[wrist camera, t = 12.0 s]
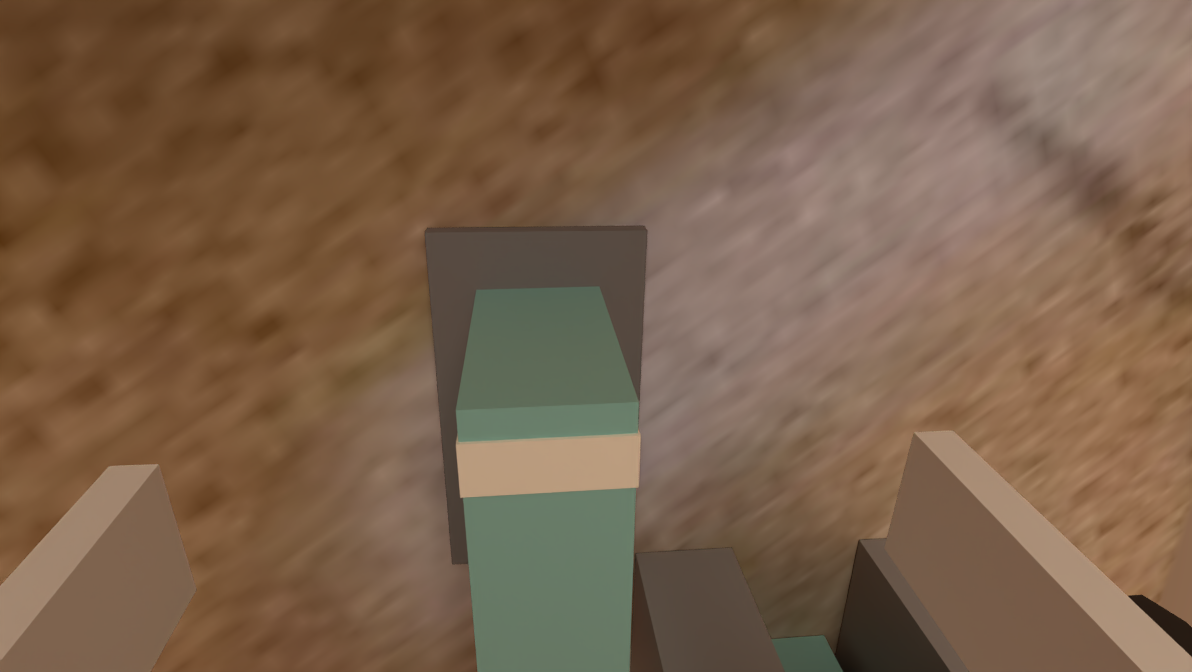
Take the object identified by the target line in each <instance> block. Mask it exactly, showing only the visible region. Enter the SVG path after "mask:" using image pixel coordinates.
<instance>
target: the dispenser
mask: <svg viewBox="0 0 1192 672" xmlns="http://www.w3.org/2000/svg"><path fill="white" fill-rule="evenodd" d="M886 540H887V538H884V539H867V540H859V544H858V548H857V553H856V558H855V563H854V568H853V573H852V578H851V583H850V587H849V592H848V597H847V602H846V607H845V612H844V617H843V621H842V626H841V631H840V636H839V641H838V646H837V651H836V655H834V654H833V652H832V650H831V648H830V646H829V644H828V642H827V640H826V638H825V636H824V635H819V636H806V637H792V638H779V639H771V638H770V636H769V633H768V631H767V629H766V626H765V624H764V622H763V619H762V617H761V615H760V612H759V610H758V608H757V605H756V603H755V601H754V598H753V596H752V594H751V591H750V589H749V587H748V584H747V582H746V580H745V577H744V575H743V573H742V570H741V568H740V566H739V563H738V561H737V559H736V556H735V554H734V552H733V549H732V548H715V549H698V550H682V551H665V552H648V553H636V559H635V579H634V600H633V621H632V641H631V662H630V672H969V670H968V669H967V667H966V666H965V664H964V663H963V662H962V660H961V659H960V657H959V656H958V654H957V653H956V651H955V650H954V649H953V647H952V646H951V644H950V643H949V641H948V640H947V638H946V637H945V636H944V634H943V633H942V631H941V630H940V628H939V627H938V625H937V624H936V622H935V621H934V620H933V618H932V617H931V615H930V614H929V612H928V611H927V609H926V608H925V607H924V605H923V604H922V602H921V601H920V599H919V598H918V596H917V595H916V594H915V592H914V591H913V589H912V588H911V586H910V585H909V583H908V582H907V580H906V579H905V578H904V576H903V575H902V573H901V572H900V570H899V569H898V567H897V566H896V565H895V563H894V562H893V560H892V559H891V557H890V556H889V554H888V553H887V552H886V550H885V549H884V548H885V544H886Z"/></svg>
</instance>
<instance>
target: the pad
mask: <svg viewBox="0 0 1192 672" xmlns="http://www.w3.org/2000/svg"><path fill="white" fill-rule="evenodd" d="M425 243H426V255H427V267H428V279H429V291H430V303H431V315H432V327H433V339H434V351H435V363H436V376H437V388H438V400H439V412H440V424H441V436H442V448H443V460H444V472H445V484H446V496H447V508H448V521H449V533H450V545H451V557H452V564H469V563H468V551H467V539H466V527H465V515H464V503H463V498H460V489H459V477H458V465H457V453H456V440H457V434H458V431H457V419H456V406H457V400H458V394H459V389H460V383H461V377H462V371H463V365H464V359H465V353H466V348H467V342H468V336H469V330H470V324H471V318H472V312H473V307H474V301H475V295H476V290H486V289H523V288H559V287H595V286H599V287H600V290H601V293H602V295H603V298H604V301H605V304H606V307H607V310H608V313H609V316H610V319H611V322H612V325H613V328H614V331H615V333H616V336H617V339H618V342H619V345H620V348H621V351H622V354H623V357H624V360H625V363H626V366H627V369H628V371H629V374H630V377H631V380H632V383H633V386H634V389H635V392H636V395H637V398H638V401H639V400H640V379H641V357H642V335H643V314H644V292H645V270H646V249H647V229H646V228H645V226H574V227H468V228H427V229H426V231H425ZM638 422H639V415H638Z"/></svg>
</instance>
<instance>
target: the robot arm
mask: <svg viewBox="0 0 1192 672" xmlns="http://www.w3.org/2000/svg"><path fill="white" fill-rule="evenodd" d="M884 549H885V550H886V552H887V553H888V554H889V556H890V557H891V559H892V560H893V562H894V563H895V565H896V566H897V567H898V569H899V570H900V572H901V573H902V575H903V576H904V578H905V579H906V580H907V582H908V583H909V585H910V586H911V588H912V589H913V591H914V592H915V594H916V595H917V596H918V598H919V599H920V601H921V602H922V604H923V605H924V607H925V608H926V609H927V611H928V612H929V614H930V615H931V617H932V618H933V620H934V621H935V622H936V624H937V625H938V627H939V628H940V630H941V631H942V633H943V634H944V636H945V637H946V638H947V640H948V641H949V643H950V644H951V646H952V647H953V649H954V650H955V651H956V653H957V654H958V656H959V657H960V659H961V660H962V662H963V663H964V664H965V666H966V667H967V669H968V670H969V672H1192V627H1191V626H1190V625H1189V624H1188V623H1186V622H1185V621H1183V620H1182V619H1180V618H1178V617H1177V616H1175V615H1174V614H1172V613H1170V612H1169V611H1167V610H1166V609H1164V608H1163V607H1161V606H1159V605H1158V604H1156V603H1154V602H1153V601H1151V600H1150V599H1148V598H1146V597H1145V596H1143V595H1132V596H1127V595H1126V594H1125V593H1124V592H1123V591H1122V590H1121V589H1120V588H1118V587H1117V586H1116V585H1115V584H1114V583H1113V582H1112V581H1111V580H1110V579H1109V578H1108V577H1107V576H1106V575H1105V574H1104V573H1103V572H1102V571H1101V570H1099V569H1098V568H1097V567H1096V566H1095V565H1094V564H1093V563H1092V562H1091V561H1090V560H1089V559H1088V558H1087V557H1086V556H1085V555H1084V554H1083V553H1082V552H1081V551H1079V550H1078V549H1077V548H1076V547H1075V546H1074V545H1073V544H1072V543H1071V542H1070V541H1069V540H1068V539H1067V538H1066V537H1065V536H1064V535H1063V534H1062V533H1060V532H1059V531H1058V530H1057V529H1056V528H1055V527H1054V526H1053V525H1052V524H1051V523H1050V522H1049V521H1048V520H1047V519H1046V518H1045V517H1044V516H1043V515H1041V514H1040V513H1039V512H1038V511H1037V510H1036V509H1035V508H1034V507H1033V506H1032V505H1031V504H1030V503H1029V502H1028V501H1027V500H1026V499H1025V498H1024V497H1023V496H1021V495H1020V494H1019V493H1018V492H1017V491H1016V490H1015V489H1014V488H1013V487H1012V486H1011V485H1010V484H1009V483H1008V482H1007V481H1006V480H1005V479H1004V478H1002V477H1001V476H1000V475H999V474H998V473H997V472H996V471H995V470H994V469H993V468H992V467H991V466H990V465H989V464H988V463H987V462H986V461H985V460H984V459H982V458H981V457H980V456H979V455H978V454H977V453H976V452H975V451H974V450H973V449H972V448H971V447H970V446H969V445H968V444H967V443H966V442H965V441H963V440H962V439H961V438H960V437H959V436H958V435H957V434H956V433H955V432H954V431H931V432H914V434H913V438H912V442H911V446H910V449H909V453H908V457H907V461H906V465H905V469H904V473H903V477H902V481H901V485H900V489H899V493H898V497H897V500H896V504H895V508H894V512H893V516H892V520H891V524H890V528H889V532H888V536H887V540H886V544H885V548H884ZM196 590H197V589H196V586H195V583H194V579H193V576H192V573H191V569H190V566H189V563H188V559H187V556H186V553H185V549H184V546H183V543H182V539H181V536H180V533H179V529H178V526H177V523H176V520H175V516H174V513H173V510H172V506H171V503H170V500H169V496H168V493H167V490H166V486H165V483H164V480H163V476H162V473H161V470H160V466H159V464H148V465H124V466H109V467H108V468H107V469H106V470H105V471H104V472H103V473H102V475H101V476H100V477H99V478H98V479H97V480H96V481H95V482H94V483H93V484H92V485H91V487H90V488H89V489H88V490H87V491H86V492H85V493H84V494H83V495H82V496H81V498H80V499H79V500H78V501H77V502H76V503H75V504H74V505H73V506H72V507H71V509H70V510H69V511H68V512H67V513H66V514H65V515H64V516H63V517H62V518H61V519H60V521H59V522H58V523H57V524H56V525H55V526H54V527H53V528H52V529H51V530H50V532H49V533H48V534H47V535H46V536H45V537H44V538H43V539H42V540H41V541H40V543H39V544H38V545H37V546H36V547H35V548H34V549H33V550H32V551H31V552H30V554H29V555H28V556H27V557H26V558H25V559H24V560H23V561H22V562H21V563H20V564H19V566H18V567H17V568H16V569H15V570H14V571H13V572H12V573H11V574H10V575H9V577H8V578H7V579H6V580H5V581H4V582H3V583H2V584H1V585H0V672H151V670H152V669H153V667H154V665H155V663H156V661H157V660H158V658H159V656H160V654H161V652H162V651H163V649H164V647H165V645H166V644H167V642H168V640H169V638H170V636H171V635H172V633H173V631H174V629H175V628H176V626H177V624H178V622H179V620H180V619H181V617H182V615H183V613H184V611H185V610H186V608H187V606H188V604H189V603H190V601H191V599H192V597H193V595H194V594H195V592H196Z"/></svg>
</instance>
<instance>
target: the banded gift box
mask: <svg viewBox="0 0 1192 672" xmlns="http://www.w3.org/2000/svg"><path fill="white" fill-rule="evenodd" d="M638 415H639V401H638V398H637V395H636V392H635V389H634V386H633V383H632V380H631V377H630V374H629V371H628V369H627V366H626V363H625V360H624V357H623V354H622V351H621V348H620V345H619V342H618V339H617V336H616V333H615V331H614V328H613V325H612V322H611V319H610V316H609V313H608V310H607V307H606V304H605V301H604V298H603V295H602V293H601V290H600V287H599V286H595V287H559V288H523V289H486V290H476V295H475V301H474V307H473V312H472V318H471V324H470V330H469V336H468V342H467V348H466V353H465V359H464V365H463V371H462V377H461V383H460V389H459V394H458V400H457V406H456V419H457V431H458V434H457V440H456V453H457V465H458V477H459V489H460V498H463V503H464V515H465V527H466V539H467V551H468V563H469V575H470V587H471V599H472V611H473V623H474V635H475V647H476V659H477V671H478V672H629V671H630V643H631V614H632V586H633V557H634V529H635V500H636V488H639V470H640V443H641V435H640V432H639V428H638Z"/></svg>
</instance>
